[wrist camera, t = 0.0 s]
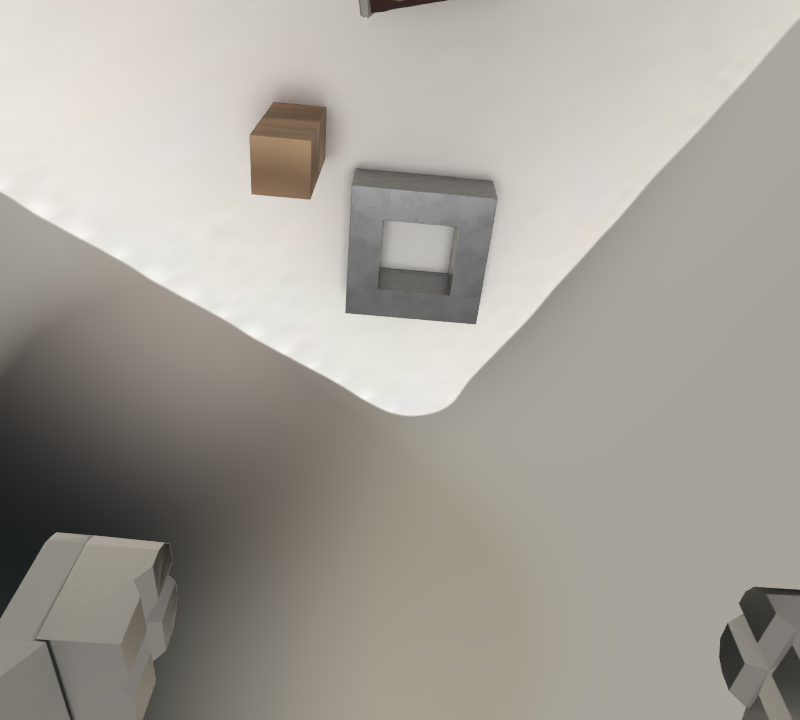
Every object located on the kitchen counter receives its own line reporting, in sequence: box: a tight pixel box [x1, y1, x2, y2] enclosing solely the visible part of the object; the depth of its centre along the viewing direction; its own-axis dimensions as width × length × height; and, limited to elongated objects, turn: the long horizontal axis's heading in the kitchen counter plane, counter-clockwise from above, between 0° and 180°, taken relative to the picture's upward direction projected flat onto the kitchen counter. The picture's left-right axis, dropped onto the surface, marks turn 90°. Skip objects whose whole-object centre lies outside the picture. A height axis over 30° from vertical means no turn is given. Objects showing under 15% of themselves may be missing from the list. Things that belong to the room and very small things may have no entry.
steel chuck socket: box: [345, 169, 497, 324], centre depth 57 cm, size 11×11×4 cm
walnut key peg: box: [250, 102, 326, 199], centre depth 50 cm, size 4×4×9 cm
